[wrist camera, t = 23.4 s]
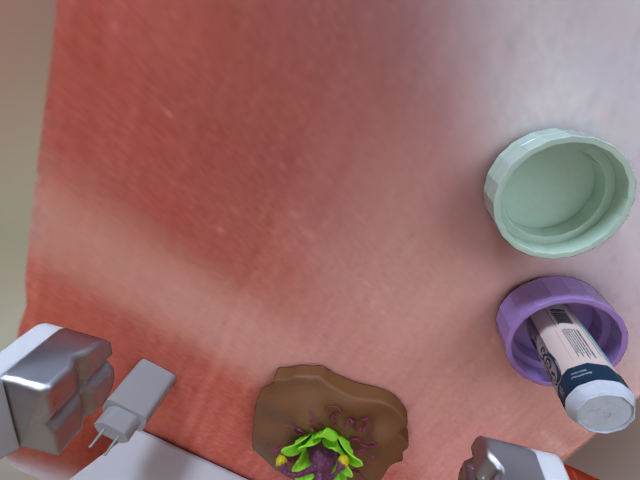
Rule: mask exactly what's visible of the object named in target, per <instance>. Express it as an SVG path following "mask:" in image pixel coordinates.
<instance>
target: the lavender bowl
mask: <svg viewBox="0 0 640 480" xmlns="http://www.w3.org/2000/svg"><path fill="white" fill-rule="evenodd" d="M555 304H563V305H565V306H567V307H569V308H570V309H572V310H573V312H574V313H575V314H576V315H577V317H578V318H579V320H580V321H581V322H582V324H583V325H584V326H585V328H586V329H587V331H588V332H589V333H590V335H591V336H592V337H593V339H594V340H595V342H596V343H597V344H598V346H599V347H600V349H601V350H602V351H603V353H604V354H605V355H606V357H607V358H608V360H609V361H610V362H611V364H612V365H613V366H614V367H615V366H616V365H617V364H618V363H619V362H620V360H621V359H622V357H623V355H624V353H625V351H626V349H627V342H628V331H627V329H626V327H625V324H624V322H623V319H622V318H621V317H620V316H619V315H618V314H617V312H616V311H615V310H614V309H613V308H612V307H611V306H610V305H609V304H608V302H607V301H606V300H605V299H604V298H603V297H602V296H601V295H600V294H599V293H598V292H597V291H596V290H595V289H594V288H593V287H592V286H591V285H589V284H587V283H585V282H582V281H580V280H578V279H575V278H569V277H562V276H552V277H543V278H538V279H535V280H533V281H530V282H527V283H525V284H522V285H521V286H519V287H518V288H517V289H515V290H514V291H512V292H511V293H510V294H509V295H508V296H507V297H506V299H505V300H504V301H503V303H502V304H501V305H500V308H499V311H498V314H497V317H496V326H497V333H498V335H499V338H500V340H501V343H502V346H503V348H504V351H505V353H506V356H507V358H508V360H509V362H510V364H511V365H512V367H513V368H514V369H515V370H516V371H517V372H518V373H519V374H520V375H522V376H523V377H524V378H526V379H528V380H530V381H533V382H535V383H537V384H540V385H546V386H551V387H554V386H553V384H552V382H551V380H550V378H549V376H548V374H547V372H546V370H545V368H544V366H543V364H542V362H541V360H540V358H539V356H538V354H537V352H536V350H535V348H534V346H533V344H532V342H531V340H530V338H529V335H528V333H527V331H526V329H525V321H526V318H527V317H529V316H530V315H532V314H533V313H535V312H536V311H538V310H540V309H543V308H546V307H549V306H552V305H555Z"/></svg>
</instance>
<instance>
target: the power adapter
mask: <svg viewBox="0 0 640 480" xmlns="http://www.w3.org/2000/svg"><path fill="white" fill-rule="evenodd" d="M175 380H176V376H175V375H174V374H173V373H171V372H169V371H167V370H165V369H163V368H161V367H160V366H158V365H156V364H154V363H152V362H150V361H148V360H146V359H141V360H140V361H139V362H138V364H137V365H136V366H135V367H134V368H133V369H132V371H131V372H130V373H129V374H128V375H127V377H126V378H125V379H124V380H123V381H122V382H121V384H120V385H119V386H118V387H117V388H116V390H115V391H114V392H113V393H112V394H111V395H110V397H109V398H108V399H107V400H106V401H105V404H104V407H103V409H102V411H103V414H102V415H101V416H100V417H99V419H98V420H97V421H96V422H95V424H94V426H95V428H96V429H97V431H98V432H99V434H98V435H97V437H96V438H95V439H94V441H93V442H92V443H91V444H90V446H89V448H91V447H92V446H93V445H94V443H95V442H96V441H97V440H98V439H99V437H100V436H101V435H104V436H106V437H108V438H110V439H112V440H114V441H113V442H112V444H111V445H110V446H109V448H108V449H107V451H106V452H105V454H104V456H106V455H107V454H108V452H109V451H110V449H111V448H112V447H113V446H114V444H115V443H116V442H118V443H126V442H128V441H129V440H130V439H131V437H132V436H133V434H134V433H135V431H142V430H143V429H144V427H145V426H146V424H147V423H148V421H149V420H150V418H151V417H152V415H153V414H154V412H155V411H156V410H157V408H158V407H159V405H160V404H161V402H162V401H163V399H164V398H165V396H166V395H167V393H168V392H169V390H170V389H171V388H172V386H173V384H174V382H175Z"/></svg>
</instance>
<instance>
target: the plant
mask: <svg viewBox="0 0 640 480" xmlns="http://www.w3.org/2000/svg"><path fill="white" fill-rule="evenodd" d="M407 423H408V420H407V411H406V409H405V407H404V406H403V404H402V403H401V402H400V400H399V399H398V398H397V397H396V396H395V395H393V394H392V393H390V392H389V391H386V390H384V389H381V388H377V387H374V386H369V385H364V384H360V383H356V382H354V381H351V380H349V379H346V378H344V377H342V376H339V375H337V374H334V373H332V372H331V371H329V370H328V369H327V368H325V367H323V366H308V365H298V366H294V367H290V368H279V369H278V370H277V373H276V376H275V378H274V383H273V384H271V385H270V386H267V387H265V388H263V389H262V390H261V391H260V393H259V396H258V398H257V401H256V405H255V416H254V425H253V434H252V447H253V449H254V451H256V452H257V453H258V454H259V455H260V456H262V457H263V458H264V459H265V460H266V461H267V462H268V463H269V464H270V465H271V466H272V467H273V468H274V469H276V470H277V471H279V472H281V473H282V474H284V475H285V476H287V477H289V478H291V479H294V480H381V479H382V477H383V476H384V474H385V472H386V471H387V469H388V467H389V466H390V465H392V464H394V463H396V462H400V461H402V460H403V454H402V452H403V451H404V450H405V449H407V448H408V445H409V443H408V430H407V428H406V427H405V426H406V425H407Z"/></svg>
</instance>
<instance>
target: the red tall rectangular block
mask: <svg viewBox="0 0 640 480" xmlns="http://www.w3.org/2000/svg"><path fill="white" fill-rule="evenodd" d="M564 467H565V469H566V472H567V474H568V476H569V479H570V480H599V479H597V478H594V477H592V476H590V475H588V474H586V473H583V472H581V471H579V470H577V469H575V468H573V467H570V466H568V465H564Z"/></svg>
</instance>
